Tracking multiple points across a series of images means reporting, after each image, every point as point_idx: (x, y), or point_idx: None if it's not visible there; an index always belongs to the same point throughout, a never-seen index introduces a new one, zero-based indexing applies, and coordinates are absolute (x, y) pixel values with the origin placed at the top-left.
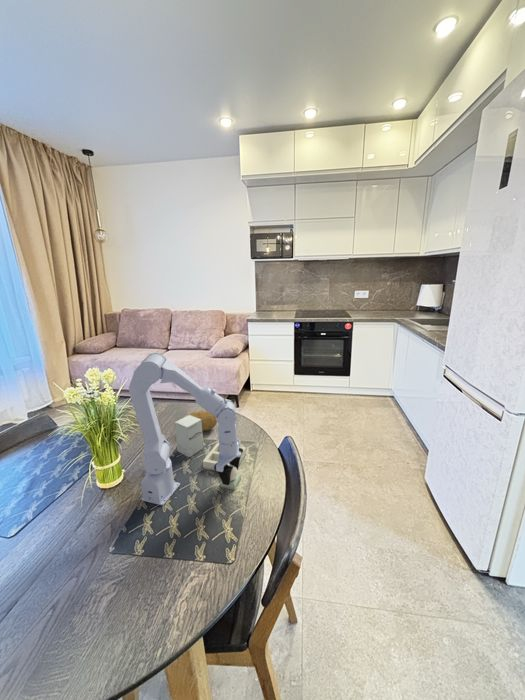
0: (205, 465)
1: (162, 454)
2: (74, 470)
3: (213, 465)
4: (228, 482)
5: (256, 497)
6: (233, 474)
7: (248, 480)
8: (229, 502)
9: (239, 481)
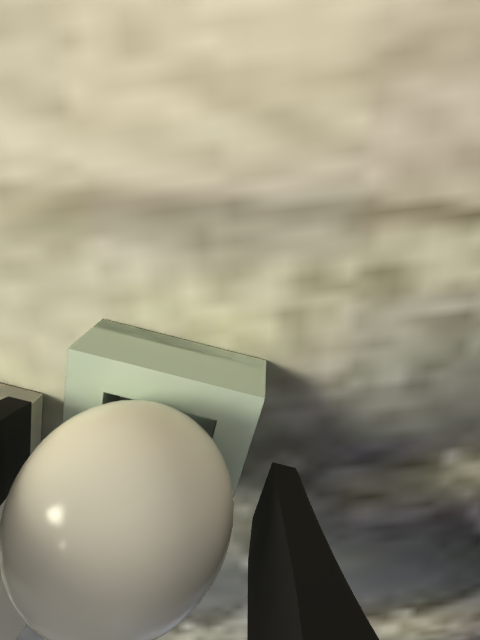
0: (13, 632)
1: None
2: None
3: (2, 601)
4: (308, 505)
5: (404, 84)
6: (195, 498)
7: (103, 231)
8: (440, 392)
9: (141, 332)
